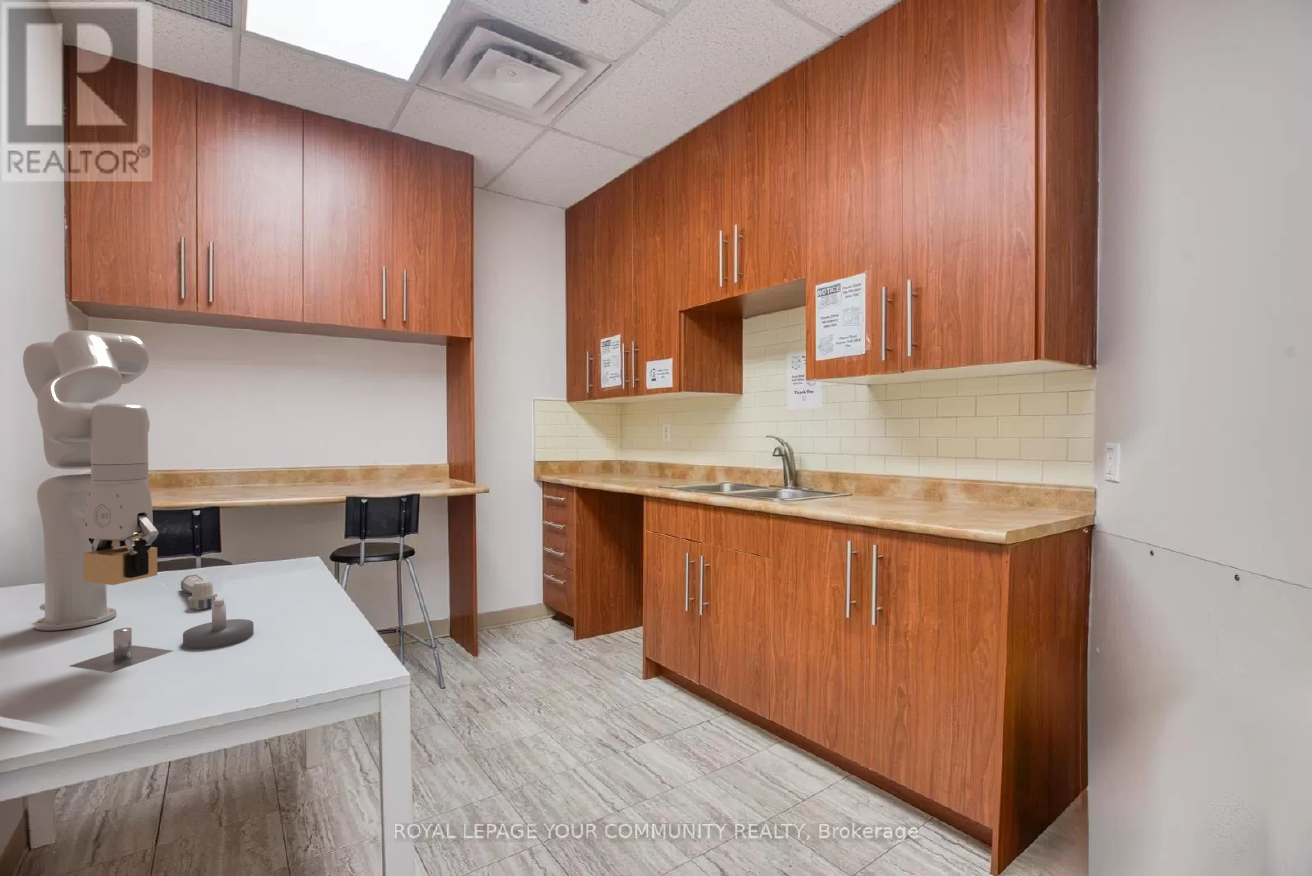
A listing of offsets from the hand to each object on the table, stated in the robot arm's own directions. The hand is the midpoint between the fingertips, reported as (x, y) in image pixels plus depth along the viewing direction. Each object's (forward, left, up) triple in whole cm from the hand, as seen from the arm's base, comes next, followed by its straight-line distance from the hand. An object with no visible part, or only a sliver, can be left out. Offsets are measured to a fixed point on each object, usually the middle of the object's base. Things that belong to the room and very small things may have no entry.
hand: (121, 573), depth 105 cm
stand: (0, 0, -16) cm, 16 cm away
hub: (+7, +12, -16) cm, 21 cm away
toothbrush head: (-27, +34, -16) cm, 46 cm away
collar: (0, 0, -1) cm, 1 cm away
